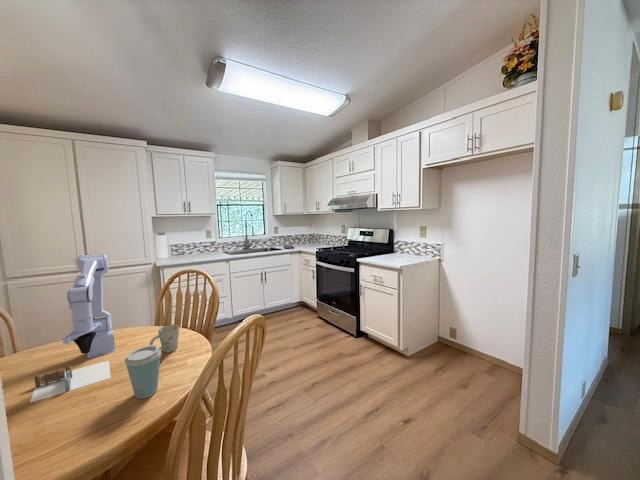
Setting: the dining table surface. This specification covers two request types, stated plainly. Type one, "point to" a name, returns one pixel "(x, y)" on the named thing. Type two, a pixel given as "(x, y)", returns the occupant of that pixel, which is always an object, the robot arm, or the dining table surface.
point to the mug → (168, 338)
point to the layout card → (74, 380)
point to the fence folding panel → (67, 380)
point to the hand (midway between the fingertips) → (85, 352)
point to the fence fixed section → (51, 377)
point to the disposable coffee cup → (144, 370)
